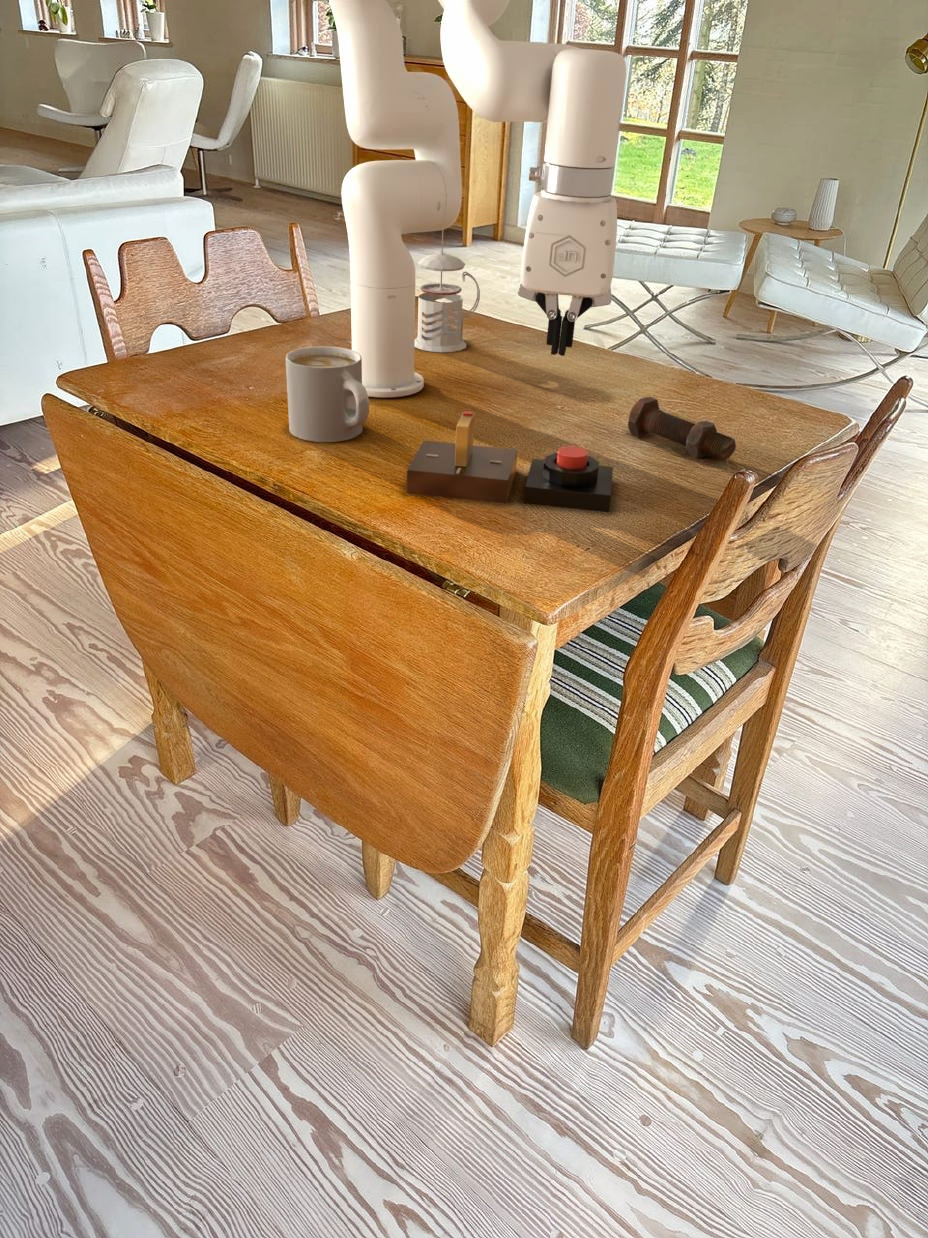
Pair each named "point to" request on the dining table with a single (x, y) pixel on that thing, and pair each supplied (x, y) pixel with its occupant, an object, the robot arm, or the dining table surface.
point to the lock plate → (462, 472)
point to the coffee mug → (325, 393)
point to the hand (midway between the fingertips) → (558, 351)
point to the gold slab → (464, 439)
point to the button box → (569, 485)
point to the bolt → (679, 430)
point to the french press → (442, 307)
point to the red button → (572, 457)
